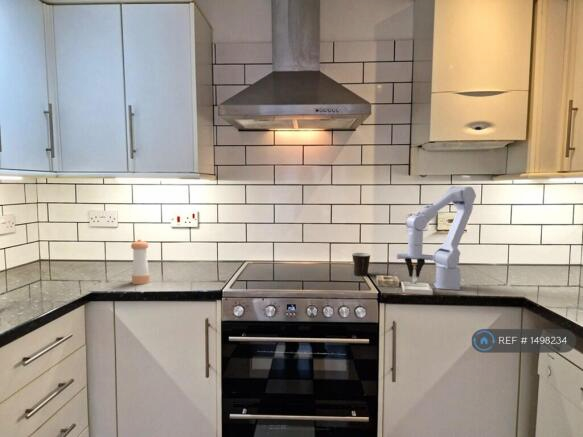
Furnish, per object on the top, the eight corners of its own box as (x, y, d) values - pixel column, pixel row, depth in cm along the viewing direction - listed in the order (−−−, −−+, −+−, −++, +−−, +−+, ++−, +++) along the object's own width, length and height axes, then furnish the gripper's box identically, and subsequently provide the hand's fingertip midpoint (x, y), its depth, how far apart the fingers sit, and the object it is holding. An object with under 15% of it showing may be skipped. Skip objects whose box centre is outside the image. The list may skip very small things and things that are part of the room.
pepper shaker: (130, 284, 160) (129, 241, 158) (133, 280, 167) (131, 238, 165) (148, 283, 162) (147, 240, 160) (150, 279, 169) (149, 238, 167)
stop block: (396, 281, 169) (396, 276, 168) (398, 287, 160) (399, 281, 160) (376, 280, 170) (376, 275, 170) (377, 285, 161) (377, 280, 161)
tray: (427, 287, 159) (427, 283, 159) (432, 295, 148) (432, 290, 148) (400, 286, 161) (401, 281, 161) (404, 293, 150) (404, 288, 150)
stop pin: (415, 282, 156) (416, 264, 155) (417, 284, 154) (418, 265, 153) (410, 282, 156) (410, 264, 156) (411, 284, 154) (412, 265, 153)
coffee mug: (355, 271, 187) (355, 252, 186) (371, 273, 183) (372, 253, 182) (347, 276, 177) (347, 256, 176) (365, 278, 173) (365, 257, 172)
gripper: (431, 243, 156) (430, 275, 158) (396, 242, 159) (395, 273, 160) (435, 246, 149) (433, 279, 151) (397, 244, 152) (396, 277, 153)
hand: (413, 276), depth 155 cm, fingers closed on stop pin, 2 cm apart
